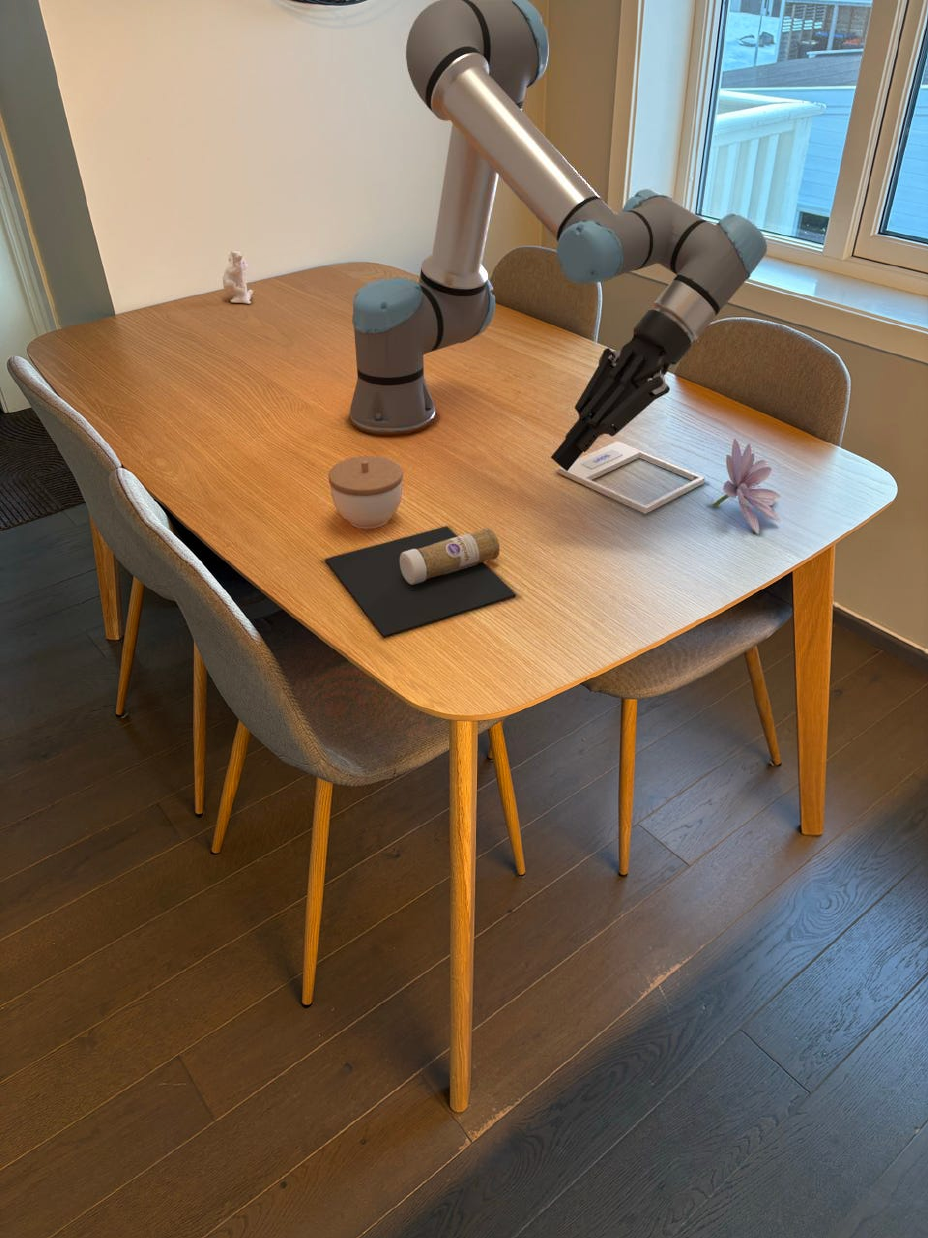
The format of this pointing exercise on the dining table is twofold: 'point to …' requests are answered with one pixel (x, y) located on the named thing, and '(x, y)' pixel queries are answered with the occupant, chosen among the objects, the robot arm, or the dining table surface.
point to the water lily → (748, 485)
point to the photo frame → (617, 457)
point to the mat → (412, 606)
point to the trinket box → (366, 490)
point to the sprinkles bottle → (449, 556)
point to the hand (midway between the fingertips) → (558, 464)
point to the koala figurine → (237, 278)
